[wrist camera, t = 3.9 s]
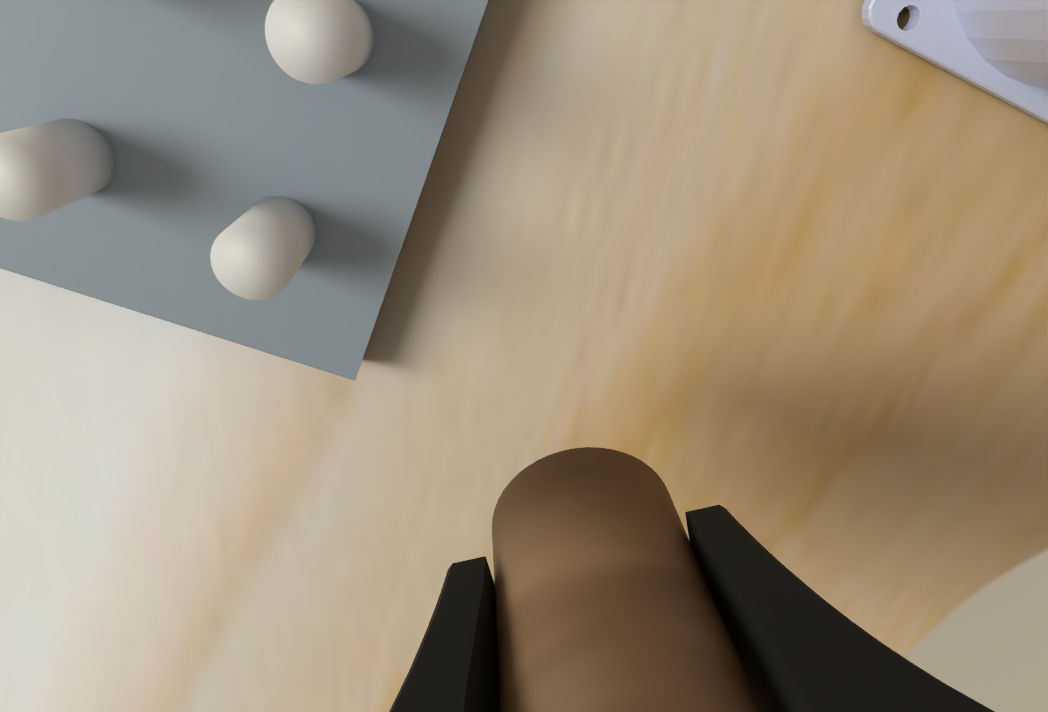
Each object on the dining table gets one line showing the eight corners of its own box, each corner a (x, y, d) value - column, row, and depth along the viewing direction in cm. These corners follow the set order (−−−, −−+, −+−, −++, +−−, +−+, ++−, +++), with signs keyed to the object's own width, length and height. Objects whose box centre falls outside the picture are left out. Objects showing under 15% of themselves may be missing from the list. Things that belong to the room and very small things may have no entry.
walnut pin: (704, 478, 13) (862, 784, 8) (623, 609, 15) (712, 945, 9) (534, 423, 13) (583, 723, 7) (465, 567, 14) (463, 909, 9)
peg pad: (510, -65, 15) (522, -90, 12) (361, 360, 19) (338, 430, 16) (10, -310, 13) (-151, -428, 9) (-37, 231, 17) (-161, 282, 14)
